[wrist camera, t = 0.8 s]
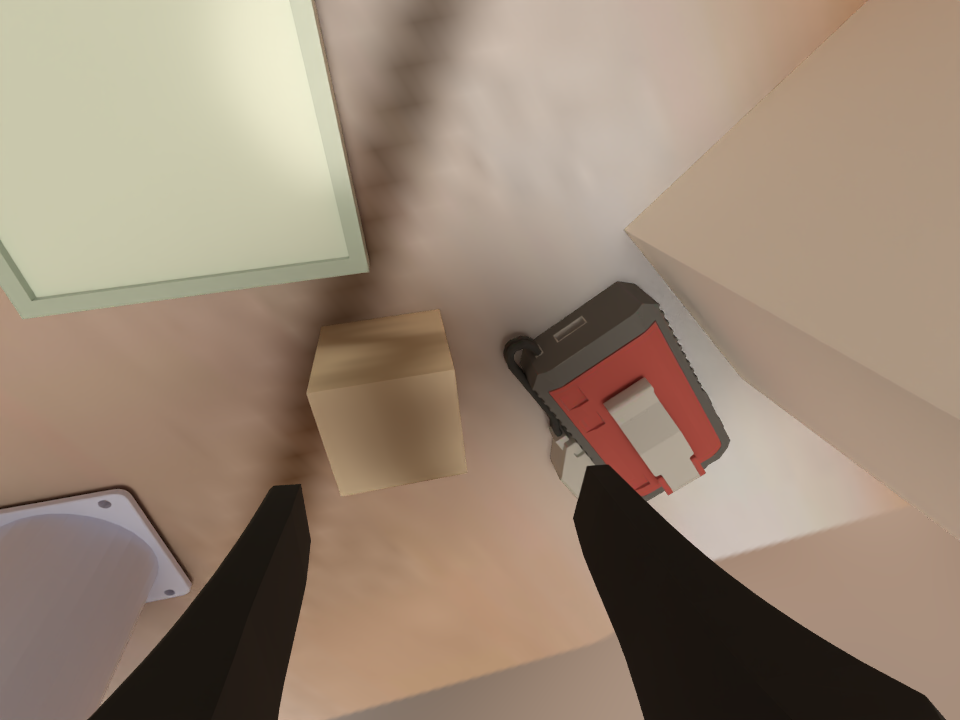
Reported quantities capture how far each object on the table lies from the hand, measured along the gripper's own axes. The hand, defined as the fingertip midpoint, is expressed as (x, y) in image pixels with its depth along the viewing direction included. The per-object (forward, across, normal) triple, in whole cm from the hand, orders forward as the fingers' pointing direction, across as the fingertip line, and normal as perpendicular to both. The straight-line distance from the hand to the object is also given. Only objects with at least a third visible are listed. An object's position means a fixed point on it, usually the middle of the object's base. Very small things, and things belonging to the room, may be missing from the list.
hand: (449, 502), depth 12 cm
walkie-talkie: (+11, -11, +7) cm, 17 cm away
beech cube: (+10, +2, +2) cm, 11 cm away
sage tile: (+10, +9, -8) cm, 16 cm away
